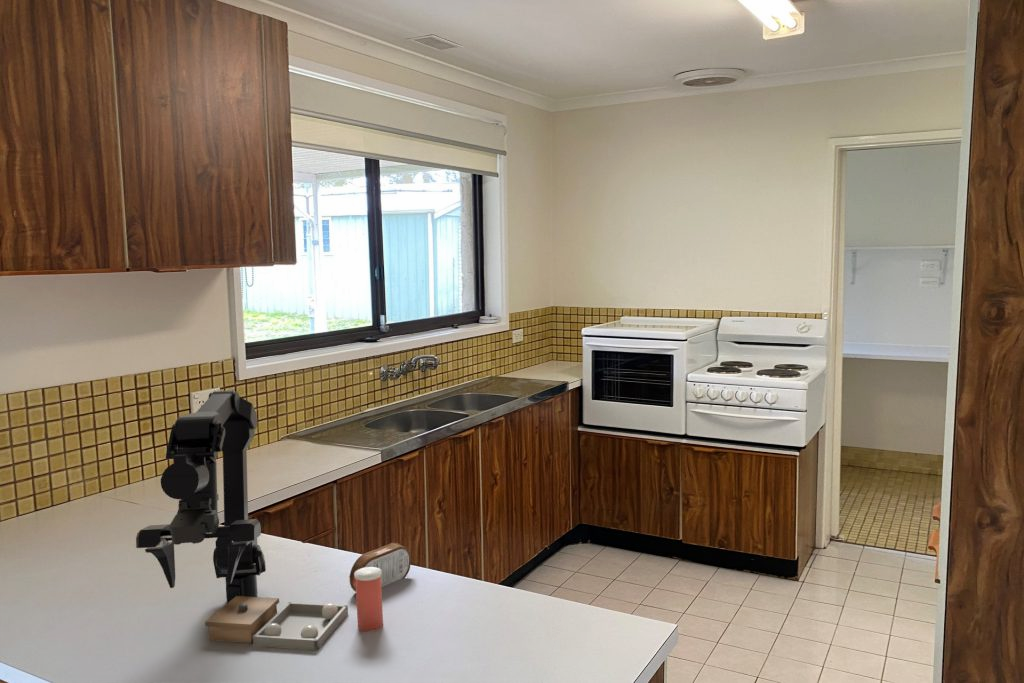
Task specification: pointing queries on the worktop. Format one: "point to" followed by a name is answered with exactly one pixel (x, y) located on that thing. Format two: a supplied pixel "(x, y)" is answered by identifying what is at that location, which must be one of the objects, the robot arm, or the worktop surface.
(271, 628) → the shiny white sphere
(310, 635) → the white glossy ball
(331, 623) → the tray
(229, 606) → the lidded box
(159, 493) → the worktop surface
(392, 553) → the tin
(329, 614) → the pebble
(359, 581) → the scoop cup
